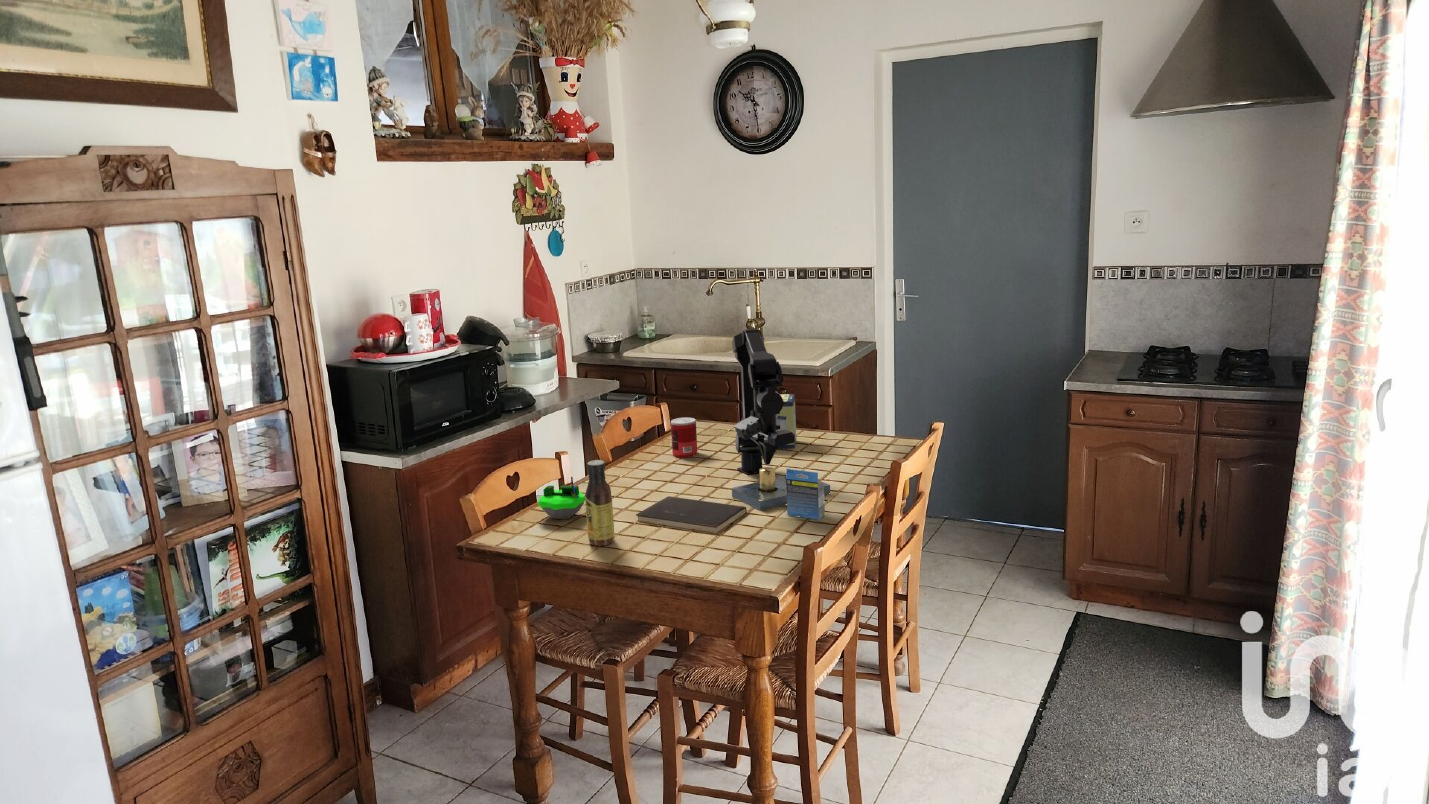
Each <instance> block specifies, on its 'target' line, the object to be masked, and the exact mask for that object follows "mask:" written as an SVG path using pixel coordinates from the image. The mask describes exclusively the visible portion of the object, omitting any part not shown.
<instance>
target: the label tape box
mask: <svg viewBox="0 0 1429 804" xmlns="http://www.w3.org/2000/svg"><path fill="white" fill-rule="evenodd" d="M785 469H786V470H785V473H786V474H785V475H786V489H787V505H786V510H787V516H788V515H789V517H794V516H800V517H799V518H803V517H805V518H806V519H812V520H818V519H819V520H821V519H823V517H825V515H826V508H825V495H824V484H823V483H819V482H818V480H819V472H817V471H815V472H814V471H807V470H801V469H791V468H785ZM801 474H803V475H804V476H807V478H800V477H797V476H796V475H801ZM819 520H818V521H819Z"/></svg>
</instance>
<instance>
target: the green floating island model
mask: <svg viewBox="0 0 1429 804" xmlns="http://www.w3.org/2000/svg"><path fill="white" fill-rule="evenodd" d="M570 482H571V485H568V484H567V485H565V484H563V485H562V484H561V485H560V486H559V488H558V489H555V486H554V485H547V486H545V488H544V489H543V495H542V496H540V497H539V499H538V502H537V505H538V506H539V507H540V508H541V509H542V511H544V513H545V514H547V515H548V516H549V517H550V518H551V519H553V520H554V519H555V520H557V519H558V520H569V518H572V517H573V516H575V515H576V514H577V513H579V512H580V511H581V509H582V507H584V506H583V505H584V503H585V494H583V492H582V491H580V490H579V487H580V486H579V485H575V484H574V479H573V476H571V477H570Z"/></svg>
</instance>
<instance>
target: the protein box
mask: <svg viewBox="0 0 1429 804" xmlns="http://www.w3.org/2000/svg"><path fill="white" fill-rule="evenodd" d="M779 394H780V393H779ZM780 396H781V397H782V399H783V402H784V404H783V408H782V410H781V411H780V414H777V424H778V425H780V429H778V430H776V431H780V430H788V431H790V432H793V433H794V434H795V443H791V444H786V445H781V446H778V447H777V449H776V450H795V448H796V444H797V424H796V422H797V421H796V397H795V394H794V393H793V394H792V393H789V394H788V393H787V394H786V393H784V394H782V393H781V394H780Z"/></svg>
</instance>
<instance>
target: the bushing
mask: <svg viewBox="0 0 1429 804" xmlns="http://www.w3.org/2000/svg"><path fill="white" fill-rule="evenodd" d="M759 471H760V472H759V482H760V492H768V493H771V492H775V478H776V469H775V468H774V467H772V466H770V467H769V466H764V467H763V468H760V469H759Z"/></svg>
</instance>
